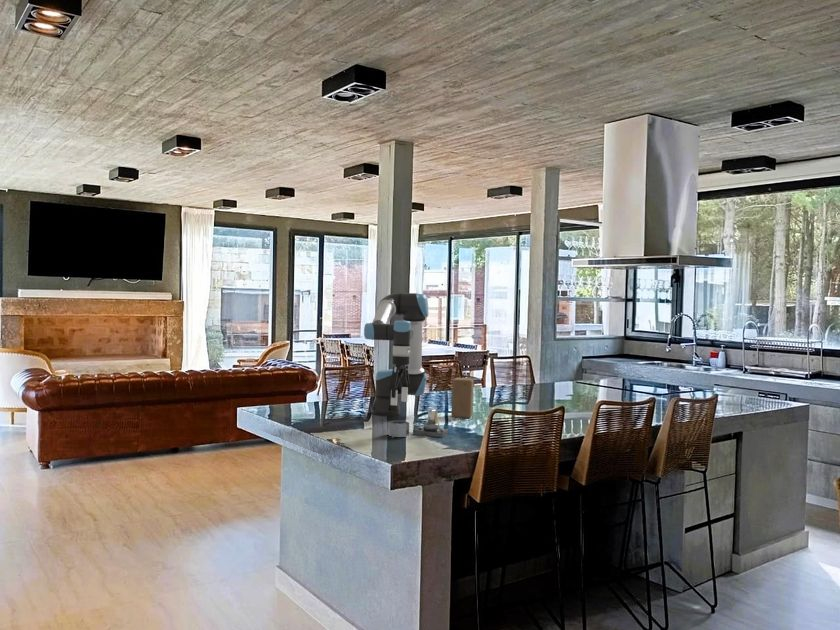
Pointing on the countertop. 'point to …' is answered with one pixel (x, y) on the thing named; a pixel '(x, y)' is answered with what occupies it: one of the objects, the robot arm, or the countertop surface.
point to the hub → (398, 428)
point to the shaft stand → (431, 426)
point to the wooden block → (462, 397)
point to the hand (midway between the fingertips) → (399, 403)
